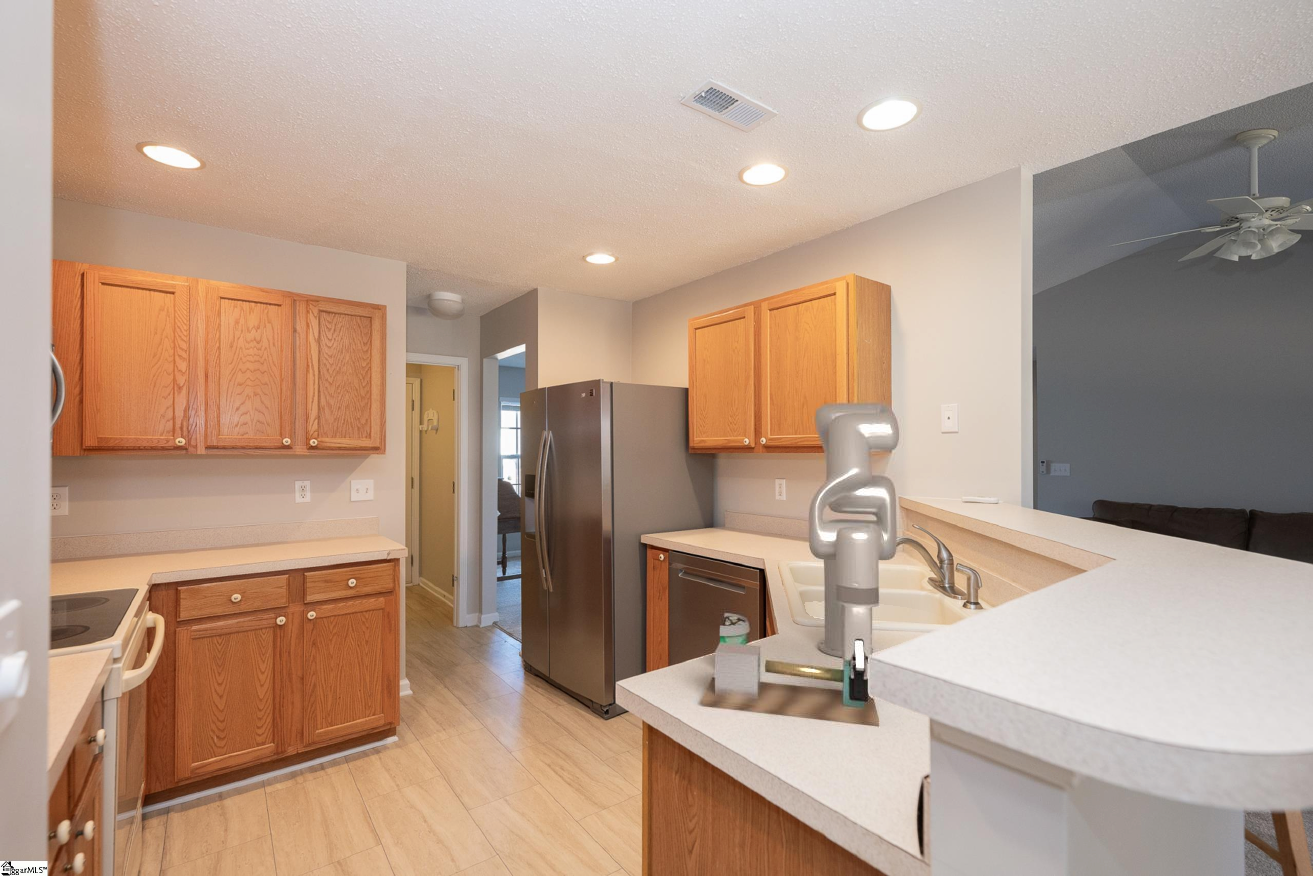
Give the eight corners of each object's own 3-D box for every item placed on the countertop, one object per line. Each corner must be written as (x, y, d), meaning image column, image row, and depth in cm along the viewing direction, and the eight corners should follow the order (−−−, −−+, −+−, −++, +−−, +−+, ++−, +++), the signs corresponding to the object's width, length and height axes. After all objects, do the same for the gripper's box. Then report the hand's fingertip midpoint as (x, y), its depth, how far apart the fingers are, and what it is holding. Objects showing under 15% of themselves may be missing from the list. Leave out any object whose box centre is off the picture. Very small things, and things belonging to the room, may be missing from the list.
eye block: (714, 694, 112) (715, 651, 113) (719, 683, 118) (720, 642, 118) (757, 699, 110) (757, 655, 111) (760, 687, 116) (760, 646, 116)
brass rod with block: (763, 693, 111) (765, 655, 111) (765, 687, 115) (766, 650, 115) (863, 708, 106) (865, 668, 107) (862, 700, 110) (863, 662, 110)
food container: (748, 675, 126) (748, 628, 126) (719, 673, 127) (719, 626, 127) (750, 657, 138) (751, 614, 138) (724, 655, 139) (724, 612, 140)
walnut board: (701, 705, 110) (701, 699, 110) (712, 682, 121) (712, 677, 122) (879, 726, 102) (878, 719, 102) (872, 699, 113) (872, 693, 114)
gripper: (834, 585, 118) (835, 678, 117) (837, 603, 102) (837, 711, 101) (874, 587, 116) (875, 682, 115) (883, 606, 100) (884, 717, 100)
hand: (857, 695), depth 108 cm, fingers closed on brass rod with block, 3 cm apart
